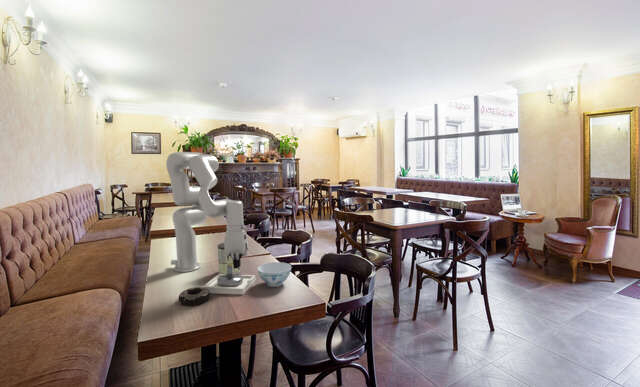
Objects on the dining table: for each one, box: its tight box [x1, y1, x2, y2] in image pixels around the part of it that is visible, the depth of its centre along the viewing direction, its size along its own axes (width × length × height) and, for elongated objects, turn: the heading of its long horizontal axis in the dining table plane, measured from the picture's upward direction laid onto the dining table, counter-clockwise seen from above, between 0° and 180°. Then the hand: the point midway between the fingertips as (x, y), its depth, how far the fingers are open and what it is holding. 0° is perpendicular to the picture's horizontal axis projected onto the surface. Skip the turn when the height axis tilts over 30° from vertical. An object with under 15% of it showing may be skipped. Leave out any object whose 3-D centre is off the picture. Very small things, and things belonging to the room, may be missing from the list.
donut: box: [177, 286, 211, 307], centre depth 131 cm, size 12×12×4 cm
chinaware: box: [257, 261, 292, 288], centre depth 147 cm, size 15×15×8 cm
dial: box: [217, 263, 243, 287], centre depth 145 cm, size 12×11×7 cm
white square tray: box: [202, 273, 257, 295], centre depth 145 cm, size 18×16×3 cm
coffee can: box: [217, 242, 241, 274], centre depth 163 cm, size 10×10×14 cm
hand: (236, 267), depth 149 cm, fingers closed
